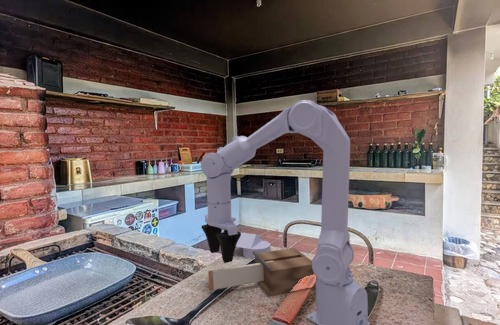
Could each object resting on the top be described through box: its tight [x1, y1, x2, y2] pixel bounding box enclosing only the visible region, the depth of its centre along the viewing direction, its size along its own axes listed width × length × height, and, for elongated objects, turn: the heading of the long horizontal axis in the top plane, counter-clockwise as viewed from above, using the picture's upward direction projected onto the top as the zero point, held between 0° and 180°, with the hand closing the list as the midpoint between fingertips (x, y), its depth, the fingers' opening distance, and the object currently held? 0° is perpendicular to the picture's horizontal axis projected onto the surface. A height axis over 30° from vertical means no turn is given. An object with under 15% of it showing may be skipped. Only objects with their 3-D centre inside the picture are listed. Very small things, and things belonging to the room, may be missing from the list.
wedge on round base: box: [235, 231, 271, 260], centre depth 95 cm, size 9×7×13 cm
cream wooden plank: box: [207, 261, 272, 291], centre depth 71 cm, size 17×1×4 cm, turn 108°
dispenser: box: [253, 247, 316, 298], centre depth 74 cm, size 13×12×7 cm
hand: (221, 256), depth 70 cm, fingers open, 7 cm apart
